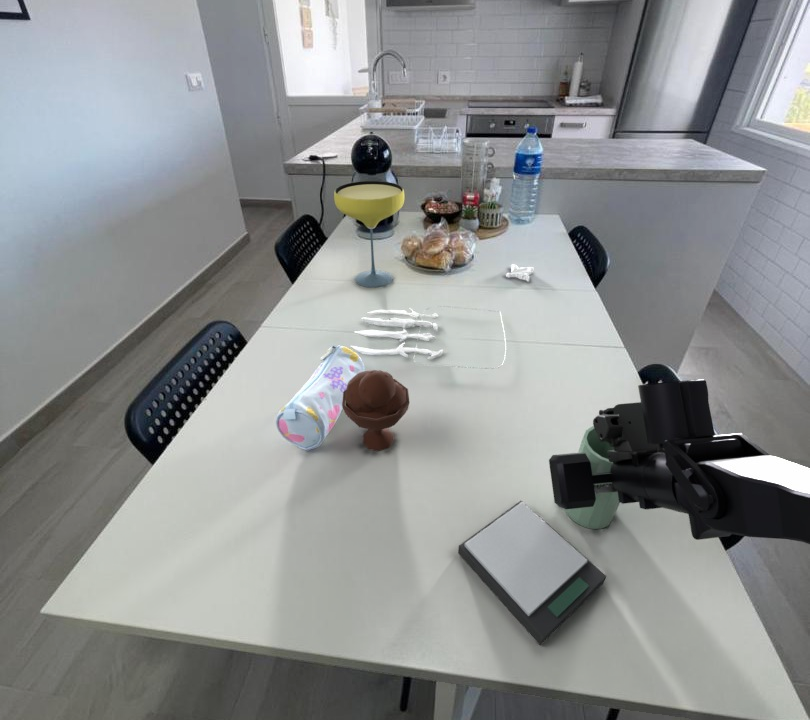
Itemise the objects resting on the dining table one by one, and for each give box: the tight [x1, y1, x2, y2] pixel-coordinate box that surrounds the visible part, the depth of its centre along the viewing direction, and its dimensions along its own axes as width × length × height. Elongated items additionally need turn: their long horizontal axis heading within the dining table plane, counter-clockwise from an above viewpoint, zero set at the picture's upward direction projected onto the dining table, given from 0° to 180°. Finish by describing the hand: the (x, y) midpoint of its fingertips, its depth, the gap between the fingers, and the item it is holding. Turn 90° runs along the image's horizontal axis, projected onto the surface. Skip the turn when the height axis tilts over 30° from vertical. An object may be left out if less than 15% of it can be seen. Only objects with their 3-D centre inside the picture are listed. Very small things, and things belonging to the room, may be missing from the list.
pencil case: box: [275, 344, 366, 451], centre depth 80 cm, size 21×9×10 cm, turn 164°
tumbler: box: [564, 425, 621, 530], centre depth 61 cm, size 7×7×14 cm
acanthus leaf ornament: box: [505, 263, 535, 282], centre depth 130 cm, size 8×7×2 cm
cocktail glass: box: [333, 180, 405, 288], centre depth 122 cm, size 18×18×25 cm
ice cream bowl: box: [342, 369, 410, 452], centre depth 73 cm, size 11×11×15 cm
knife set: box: [350, 305, 507, 370], centre depth 104 cm, size 26×35×1 cm
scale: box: [457, 500, 608, 646], centre depth 57 cm, size 14×12×2 cm
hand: (594, 469), depth 62 cm, fingers open, 9 cm apart
